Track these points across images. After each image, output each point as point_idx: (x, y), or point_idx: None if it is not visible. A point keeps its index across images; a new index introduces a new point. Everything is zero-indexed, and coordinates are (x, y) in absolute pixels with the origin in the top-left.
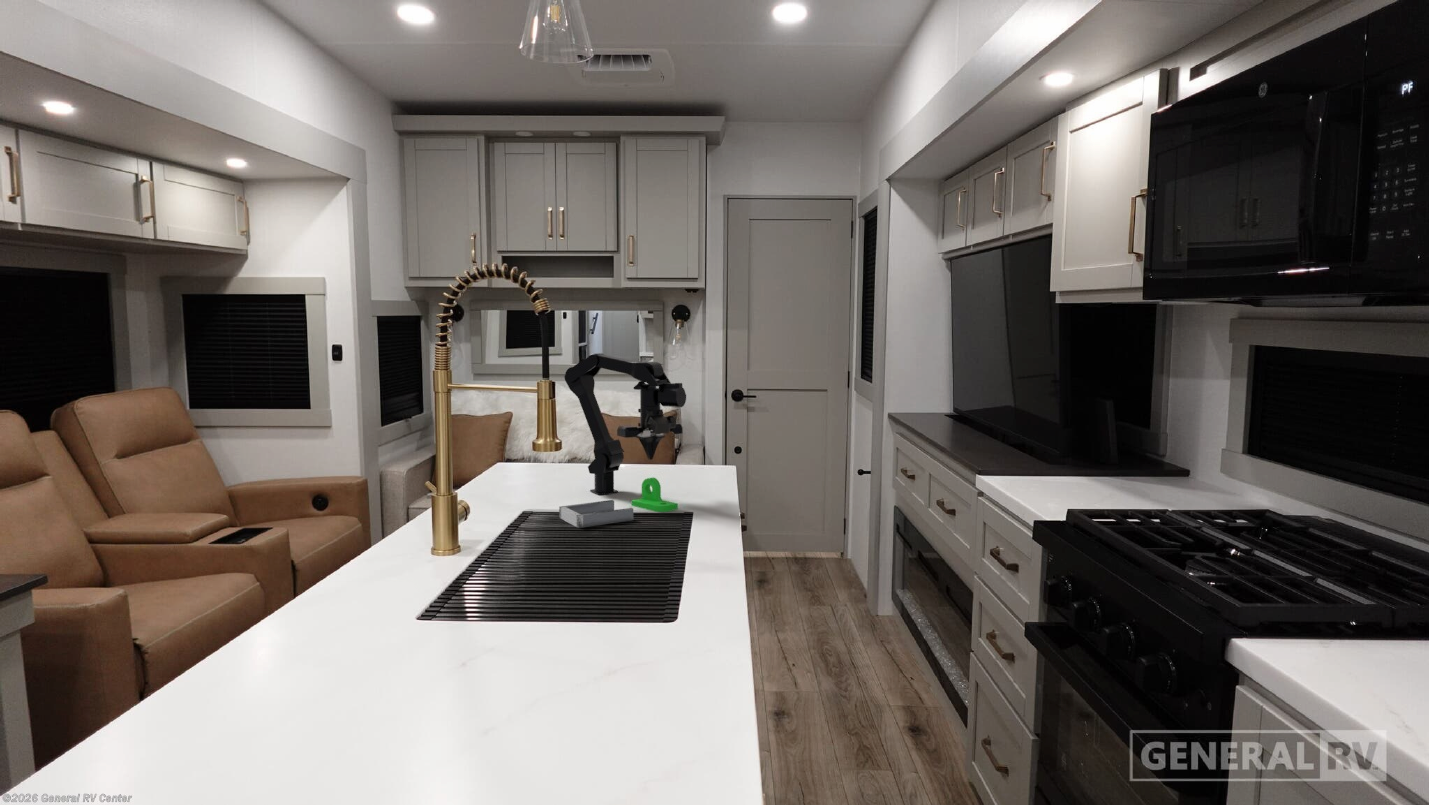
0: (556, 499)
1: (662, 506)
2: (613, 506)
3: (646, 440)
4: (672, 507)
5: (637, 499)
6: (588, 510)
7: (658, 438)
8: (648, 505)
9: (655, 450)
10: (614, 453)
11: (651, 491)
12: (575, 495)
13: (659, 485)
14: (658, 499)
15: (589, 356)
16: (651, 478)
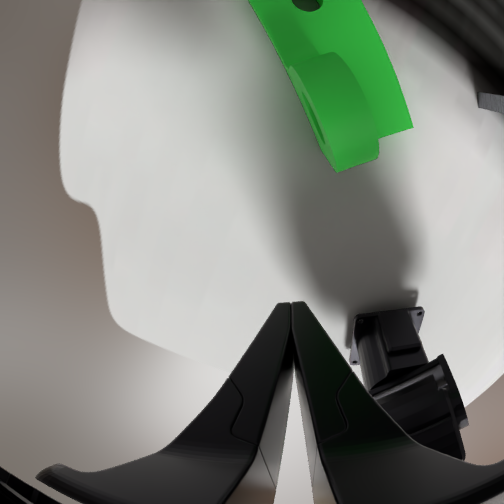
0: (490, 321)
1: None
2: (491, 94)
3: (451, 458)
4: None
5: (383, 131)
6: None
7: (181, 496)
8: (372, 26)
9: (243, 359)
10: (429, 429)
11: (317, 132)
12: (437, 346)
13: (299, 63)
14: (306, 57)
15: None
16: (349, 103)
